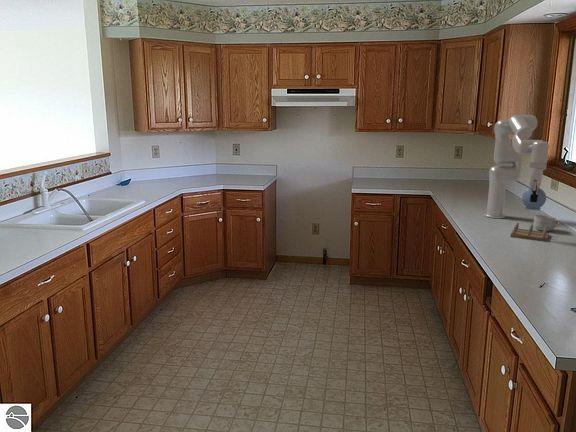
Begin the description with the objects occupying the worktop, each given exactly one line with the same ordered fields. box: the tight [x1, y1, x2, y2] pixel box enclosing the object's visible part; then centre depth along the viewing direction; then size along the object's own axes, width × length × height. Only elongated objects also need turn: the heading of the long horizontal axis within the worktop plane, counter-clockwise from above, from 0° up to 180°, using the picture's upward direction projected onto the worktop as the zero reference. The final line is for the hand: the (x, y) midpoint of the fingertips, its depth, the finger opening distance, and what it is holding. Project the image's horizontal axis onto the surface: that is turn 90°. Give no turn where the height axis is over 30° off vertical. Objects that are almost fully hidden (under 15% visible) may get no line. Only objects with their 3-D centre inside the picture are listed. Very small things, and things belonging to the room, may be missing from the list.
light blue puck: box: [521, 187, 547, 212], centre depth 252 cm, size 2×11×12 cm, turn 59°
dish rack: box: [510, 222, 550, 242], centre depth 258 cm, size 15×17×5 cm
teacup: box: [533, 214, 561, 232], centre depth 269 cm, size 14×11×8 cm
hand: (533, 201), depth 252 cm, fingers closed on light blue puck, 2 cm apart
